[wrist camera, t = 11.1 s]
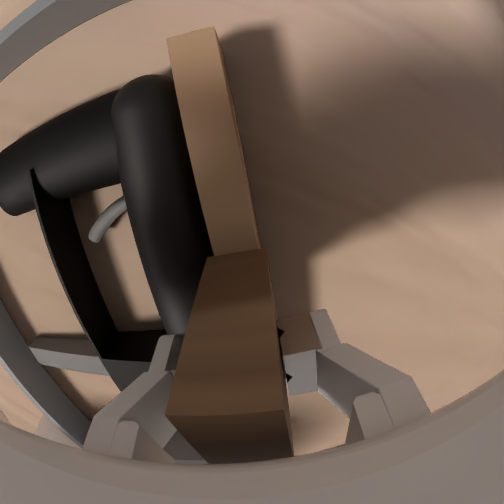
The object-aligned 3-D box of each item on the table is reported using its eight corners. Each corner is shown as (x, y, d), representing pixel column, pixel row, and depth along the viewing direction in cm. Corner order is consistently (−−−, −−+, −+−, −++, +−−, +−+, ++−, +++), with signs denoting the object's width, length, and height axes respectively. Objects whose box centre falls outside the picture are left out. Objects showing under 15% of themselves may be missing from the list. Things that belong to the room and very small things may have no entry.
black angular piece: (74, 418, 16) (270, 439, 14) (-45, 178, 7) (205, 47, 6) (87, 391, 19) (269, 401, 17) (-10, 165, 10) (220, 71, 9)
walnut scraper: (178, 58, 8) (40, -42, 1) (228, 46, 8) (179, -107, 1) (257, 384, 16) (260, 508, 8) (288, 380, 16) (303, 504, 8)
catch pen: (-52, 126, 7) (-79, 133, 4) (158, -24, 6) (140, -55, 4) (90, 427, 19) (83, 449, 17) (268, 429, 19) (271, 460, 16)
